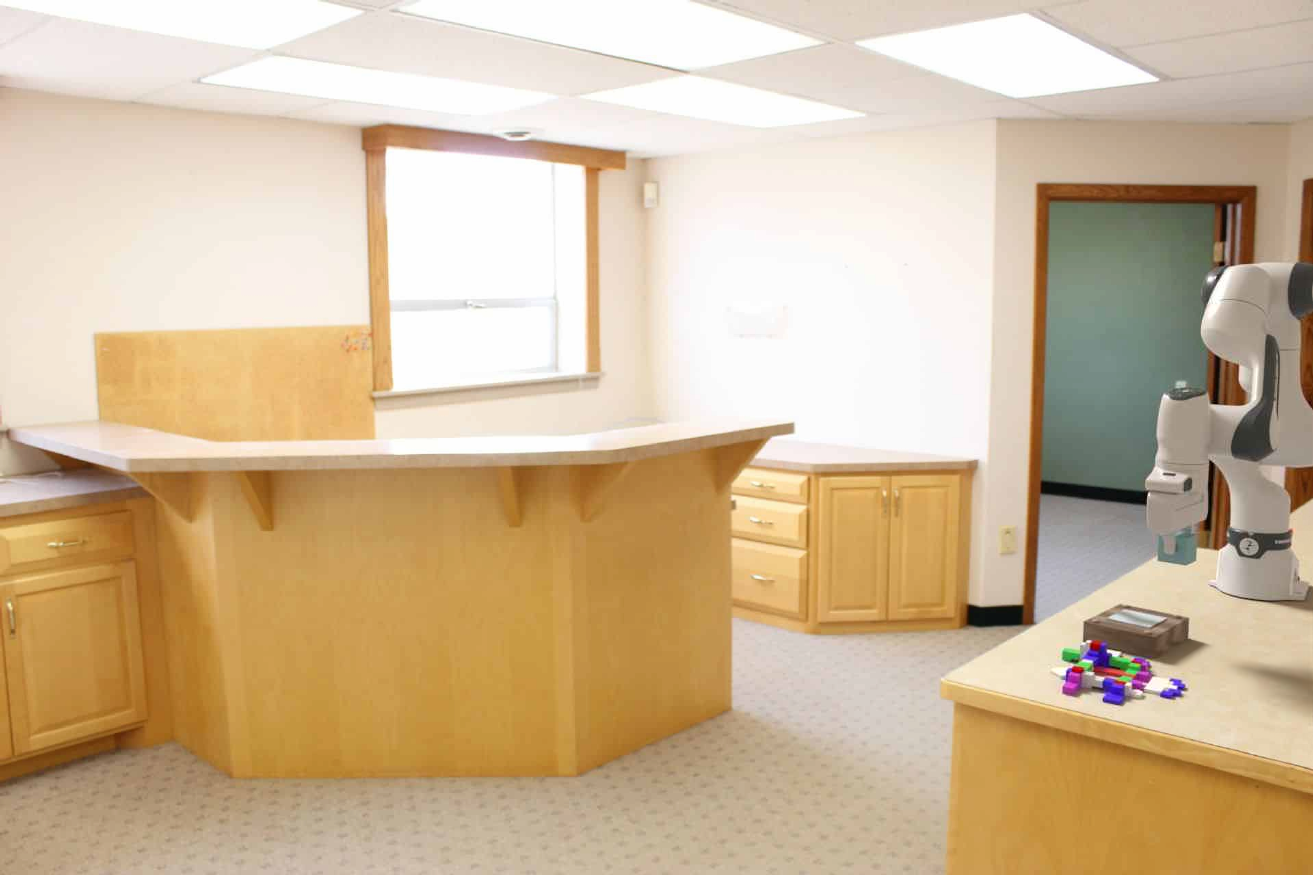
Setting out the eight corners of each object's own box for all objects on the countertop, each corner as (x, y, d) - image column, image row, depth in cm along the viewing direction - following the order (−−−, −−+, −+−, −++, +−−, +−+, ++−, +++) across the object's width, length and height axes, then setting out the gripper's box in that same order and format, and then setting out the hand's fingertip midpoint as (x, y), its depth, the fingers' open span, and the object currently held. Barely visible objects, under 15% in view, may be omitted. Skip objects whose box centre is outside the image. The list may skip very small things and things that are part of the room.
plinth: (1119, 623, 208) (1120, 602, 208) (1188, 637, 199) (1189, 615, 198) (1082, 642, 197) (1083, 619, 197) (1153, 658, 188) (1154, 635, 187)
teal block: (1167, 556, 198) (1169, 530, 197) (1196, 560, 194) (1197, 534, 194) (1157, 560, 194) (1158, 534, 194) (1186, 565, 191) (1187, 538, 190)
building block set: (1167, 718, 163) (1168, 690, 162) (1033, 690, 175) (1033, 664, 175) (1197, 671, 183) (1198, 646, 182) (1074, 649, 195) (1075, 626, 195)
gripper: (1183, 468, 202) (1180, 539, 203) (1141, 481, 188) (1137, 557, 189) (1219, 472, 197) (1215, 544, 199) (1178, 485, 183) (1174, 562, 185)
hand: (1176, 550), depth 194 cm, fingers closed on teal block, 5 cm apart
